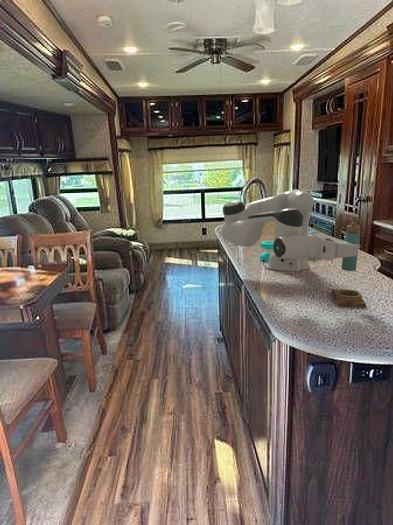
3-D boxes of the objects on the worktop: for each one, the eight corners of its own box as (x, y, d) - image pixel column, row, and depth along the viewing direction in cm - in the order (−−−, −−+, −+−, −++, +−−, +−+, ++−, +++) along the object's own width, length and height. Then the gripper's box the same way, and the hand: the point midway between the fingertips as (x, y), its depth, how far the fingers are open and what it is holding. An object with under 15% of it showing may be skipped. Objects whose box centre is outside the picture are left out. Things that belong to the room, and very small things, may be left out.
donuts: (281, 241, 196) (276, 244, 187) (280, 258, 199) (275, 262, 190) (263, 239, 200) (258, 243, 192) (263, 256, 203) (257, 260, 195)
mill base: (337, 306, 130) (338, 298, 129) (331, 292, 144) (331, 285, 143) (365, 307, 128) (366, 299, 127) (356, 293, 142) (356, 286, 141)
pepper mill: (342, 270, 130) (347, 222, 126) (340, 267, 135) (345, 220, 130) (357, 271, 129) (362, 222, 125) (354, 267, 134) (359, 220, 129)
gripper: (304, 248, 138) (337, 246, 141) (333, 261, 119) (370, 259, 121) (306, 232, 137) (338, 231, 139) (334, 242, 117) (372, 241, 119)
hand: (353, 244), depth 130 cm, fingers closed on pepper mill, 5 cm apart
